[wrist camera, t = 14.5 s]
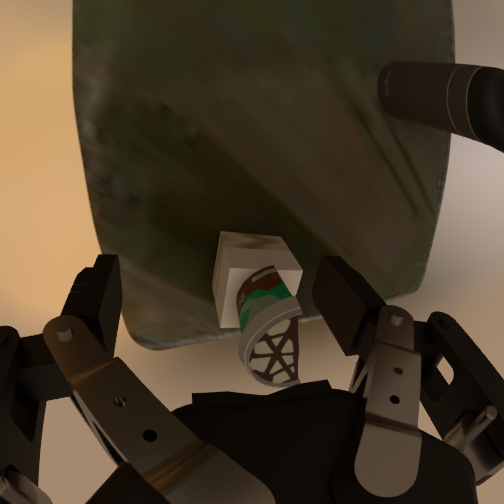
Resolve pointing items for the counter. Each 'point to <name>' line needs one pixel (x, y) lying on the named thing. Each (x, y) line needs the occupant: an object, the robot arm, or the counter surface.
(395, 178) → the counter surface
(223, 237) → the tower base block
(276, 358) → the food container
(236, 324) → the tower top block
